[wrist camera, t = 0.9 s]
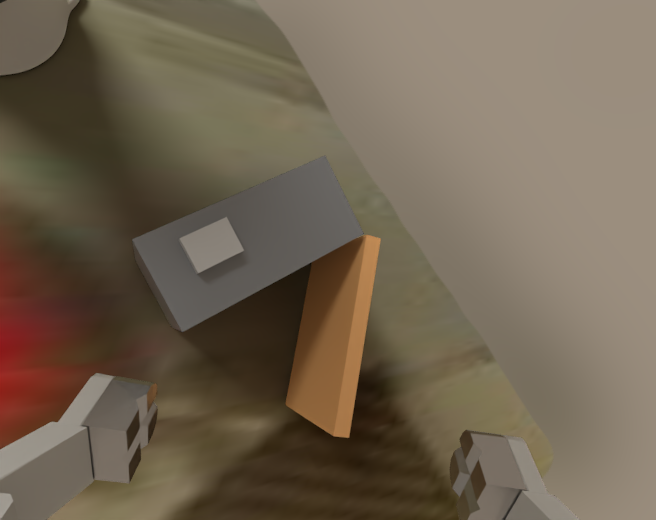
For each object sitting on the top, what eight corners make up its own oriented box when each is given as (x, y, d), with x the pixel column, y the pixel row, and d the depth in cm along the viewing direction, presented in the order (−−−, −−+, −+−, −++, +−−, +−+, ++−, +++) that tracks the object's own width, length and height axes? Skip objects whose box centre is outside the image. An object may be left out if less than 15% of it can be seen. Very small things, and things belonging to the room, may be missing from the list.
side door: (285, 404, 51) (333, 436, 38) (313, 253, 54) (366, 234, 41) (307, 407, 52) (361, 439, 39) (333, 258, 55) (391, 241, 42)
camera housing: (135, 260, 47) (131, 237, 33) (287, 191, 55) (339, 147, 40) (171, 326, 48) (183, 332, 33) (316, 249, 55) (379, 226, 41)
